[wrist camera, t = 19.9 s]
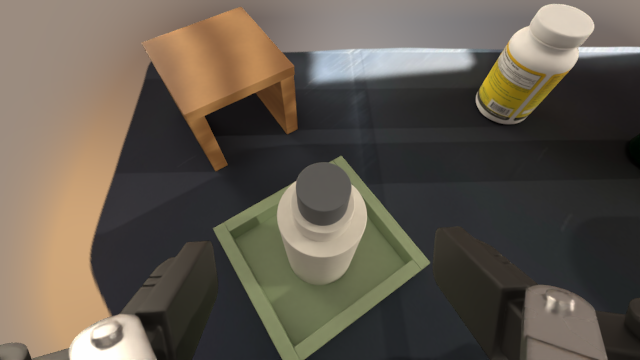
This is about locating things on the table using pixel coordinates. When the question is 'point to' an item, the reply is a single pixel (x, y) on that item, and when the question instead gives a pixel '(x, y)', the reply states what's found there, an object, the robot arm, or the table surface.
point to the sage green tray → (307, 299)
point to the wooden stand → (223, 73)
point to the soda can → (635, 149)
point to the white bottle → (321, 223)
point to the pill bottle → (533, 63)
